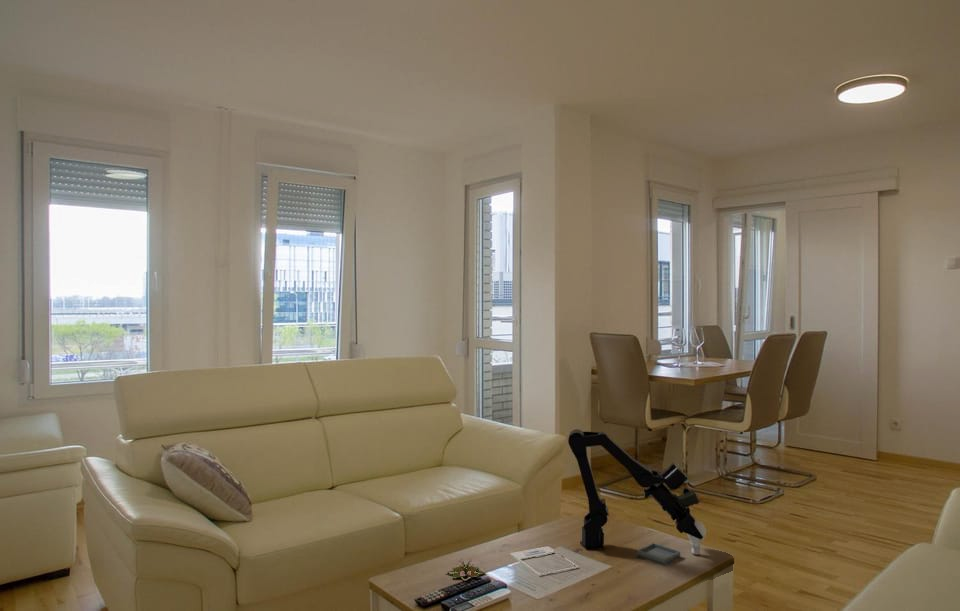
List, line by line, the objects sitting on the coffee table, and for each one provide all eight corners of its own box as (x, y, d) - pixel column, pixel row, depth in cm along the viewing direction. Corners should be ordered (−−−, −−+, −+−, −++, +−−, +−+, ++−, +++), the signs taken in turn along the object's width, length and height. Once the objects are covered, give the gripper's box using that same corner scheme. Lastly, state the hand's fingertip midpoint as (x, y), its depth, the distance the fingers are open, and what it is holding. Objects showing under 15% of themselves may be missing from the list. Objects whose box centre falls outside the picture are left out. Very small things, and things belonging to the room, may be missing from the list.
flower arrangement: (466, 588, 176) (466, 572, 176) (437, 575, 184) (437, 560, 184) (493, 575, 185) (494, 560, 185) (465, 563, 193) (465, 549, 193)
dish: (664, 565, 192) (664, 559, 192) (636, 556, 200) (636, 550, 200) (680, 557, 199) (680, 551, 199) (652, 548, 207) (652, 542, 207)
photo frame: (548, 545, 206) (579, 566, 190) (548, 549, 206) (579, 569, 190) (509, 552, 199) (538, 574, 183) (509, 556, 199) (538, 578, 183)
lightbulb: (706, 552, 203) (706, 519, 203) (704, 559, 197) (705, 525, 198) (686, 549, 206) (686, 516, 206) (684, 556, 200) (684, 522, 200)
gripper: (688, 490, 193) (724, 528, 191) (679, 475, 212) (712, 509, 210) (662, 514, 195) (698, 551, 193) (655, 496, 213) (688, 530, 211)
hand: (700, 534), depth 201 cm, fingers closed on lightbulb, 6 cm apart
